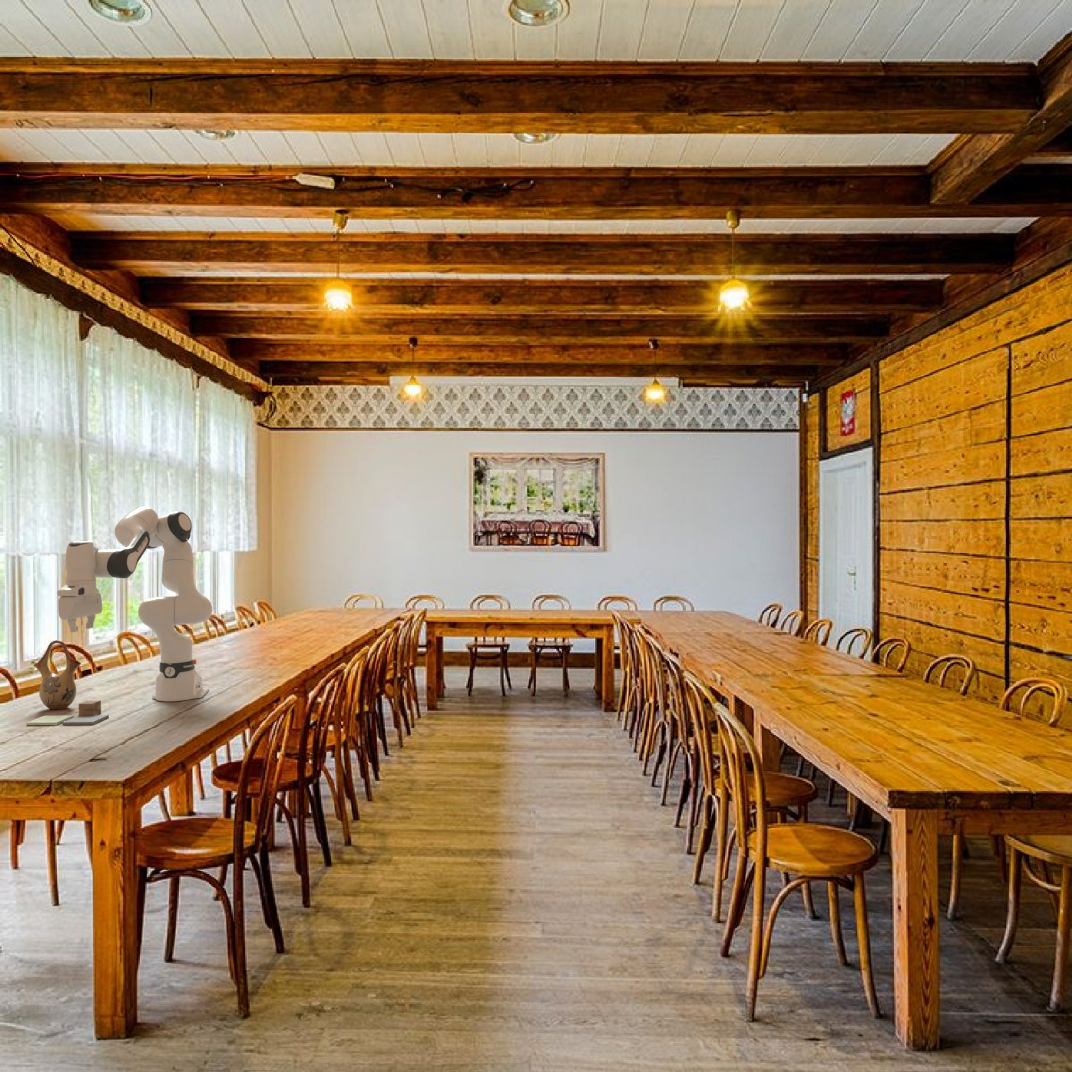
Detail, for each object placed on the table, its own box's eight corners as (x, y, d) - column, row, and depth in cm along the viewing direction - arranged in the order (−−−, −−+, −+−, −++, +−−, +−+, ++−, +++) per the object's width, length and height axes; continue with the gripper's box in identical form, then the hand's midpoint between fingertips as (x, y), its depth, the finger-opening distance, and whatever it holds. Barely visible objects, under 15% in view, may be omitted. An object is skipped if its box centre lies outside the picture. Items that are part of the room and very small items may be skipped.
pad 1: (44, 718, 276) (44, 715, 276) (73, 718, 276) (73, 715, 276) (26, 725, 266) (26, 722, 266) (56, 725, 266) (56, 722, 266)
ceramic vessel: (87, 705, 296) (86, 637, 296) (75, 711, 287) (74, 641, 287) (41, 706, 295) (40, 638, 295) (27, 712, 286) (26, 642, 286)
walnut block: (86, 714, 282) (86, 700, 282) (101, 714, 282) (100, 700, 282) (78, 718, 277) (78, 703, 277) (93, 718, 277) (93, 703, 277)
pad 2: (79, 718, 276) (79, 715, 276) (108, 717, 276) (108, 714, 276) (62, 725, 266) (62, 722, 266) (92, 725, 266) (92, 722, 266)
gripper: (88, 586, 279) (89, 626, 279) (54, 591, 259) (54, 634, 259) (106, 586, 279) (107, 626, 279) (73, 591, 259) (74, 634, 259)
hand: (82, 630), depth 269 cm, fingers open, 8 cm apart
